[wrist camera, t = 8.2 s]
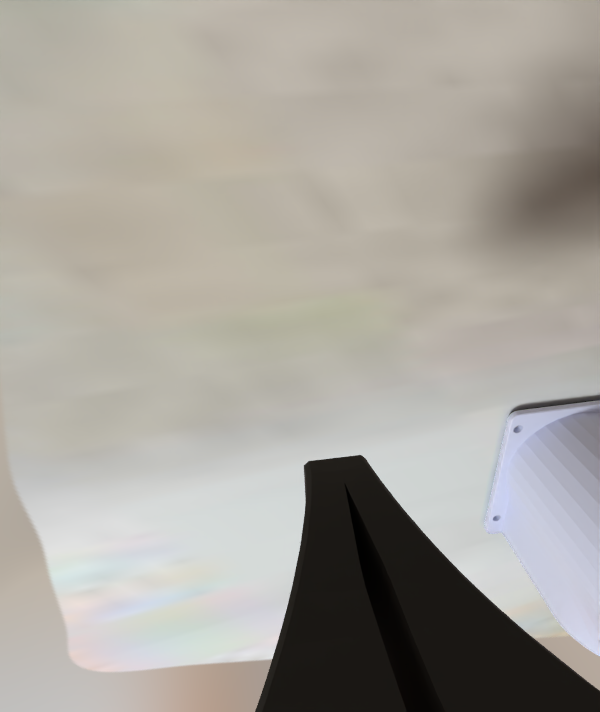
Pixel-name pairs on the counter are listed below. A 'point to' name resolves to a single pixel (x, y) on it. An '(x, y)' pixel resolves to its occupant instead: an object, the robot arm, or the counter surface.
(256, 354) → the counter surface
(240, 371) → the counter surface
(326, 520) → the robot arm
